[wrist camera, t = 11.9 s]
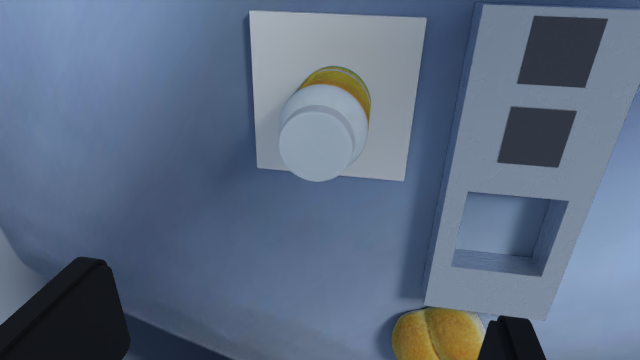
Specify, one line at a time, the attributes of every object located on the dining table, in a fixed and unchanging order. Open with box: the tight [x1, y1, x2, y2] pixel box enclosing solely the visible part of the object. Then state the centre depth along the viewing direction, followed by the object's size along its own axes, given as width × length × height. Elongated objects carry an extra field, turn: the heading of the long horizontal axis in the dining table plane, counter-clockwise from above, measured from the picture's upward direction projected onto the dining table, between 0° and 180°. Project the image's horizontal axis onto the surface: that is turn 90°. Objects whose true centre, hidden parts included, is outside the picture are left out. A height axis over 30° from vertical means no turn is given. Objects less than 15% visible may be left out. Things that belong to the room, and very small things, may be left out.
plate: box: [249, 10, 427, 181], centre depth 29 cm, size 12×12×1 cm
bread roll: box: [392, 307, 486, 360], centre depth 37 cm, size 8×9×4 cm
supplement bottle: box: [278, 65, 371, 182], centre depth 25 cm, size 5×5×10 cm
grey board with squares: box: [422, 3, 640, 321], centre depth 29 cm, size 24×10×3 cm, turn 178°
